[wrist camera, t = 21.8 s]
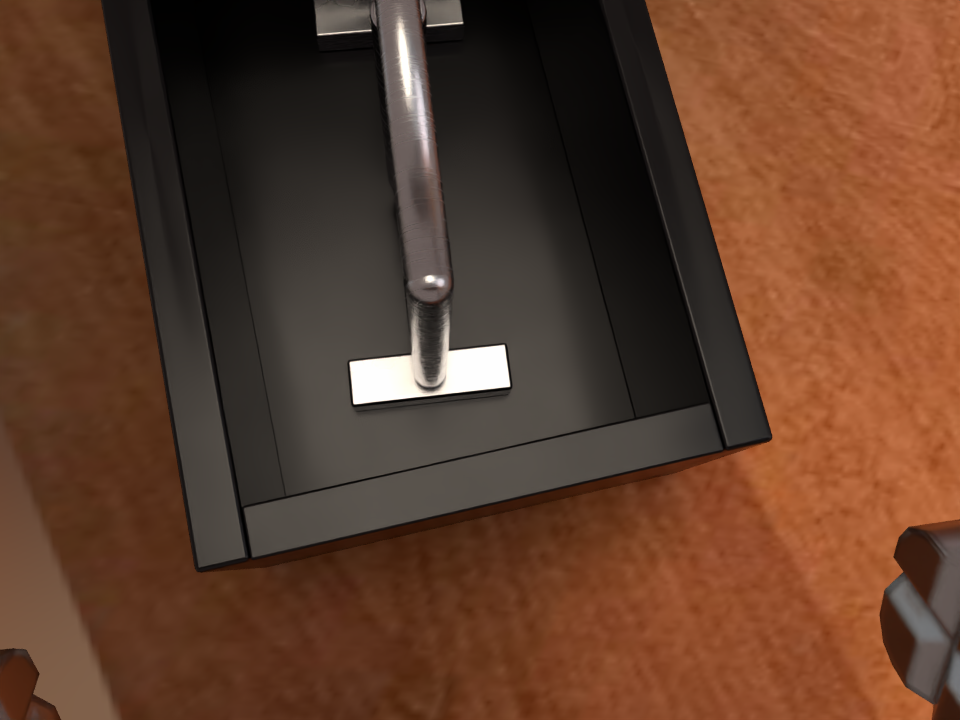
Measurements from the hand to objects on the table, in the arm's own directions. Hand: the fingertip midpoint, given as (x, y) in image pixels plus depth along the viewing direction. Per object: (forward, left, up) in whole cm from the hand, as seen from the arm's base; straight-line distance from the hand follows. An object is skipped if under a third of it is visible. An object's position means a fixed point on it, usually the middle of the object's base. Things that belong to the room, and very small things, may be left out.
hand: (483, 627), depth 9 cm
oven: (+10, -1, -15) cm, 18 cm away
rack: (+10, -1, -14) cm, 17 cm away
